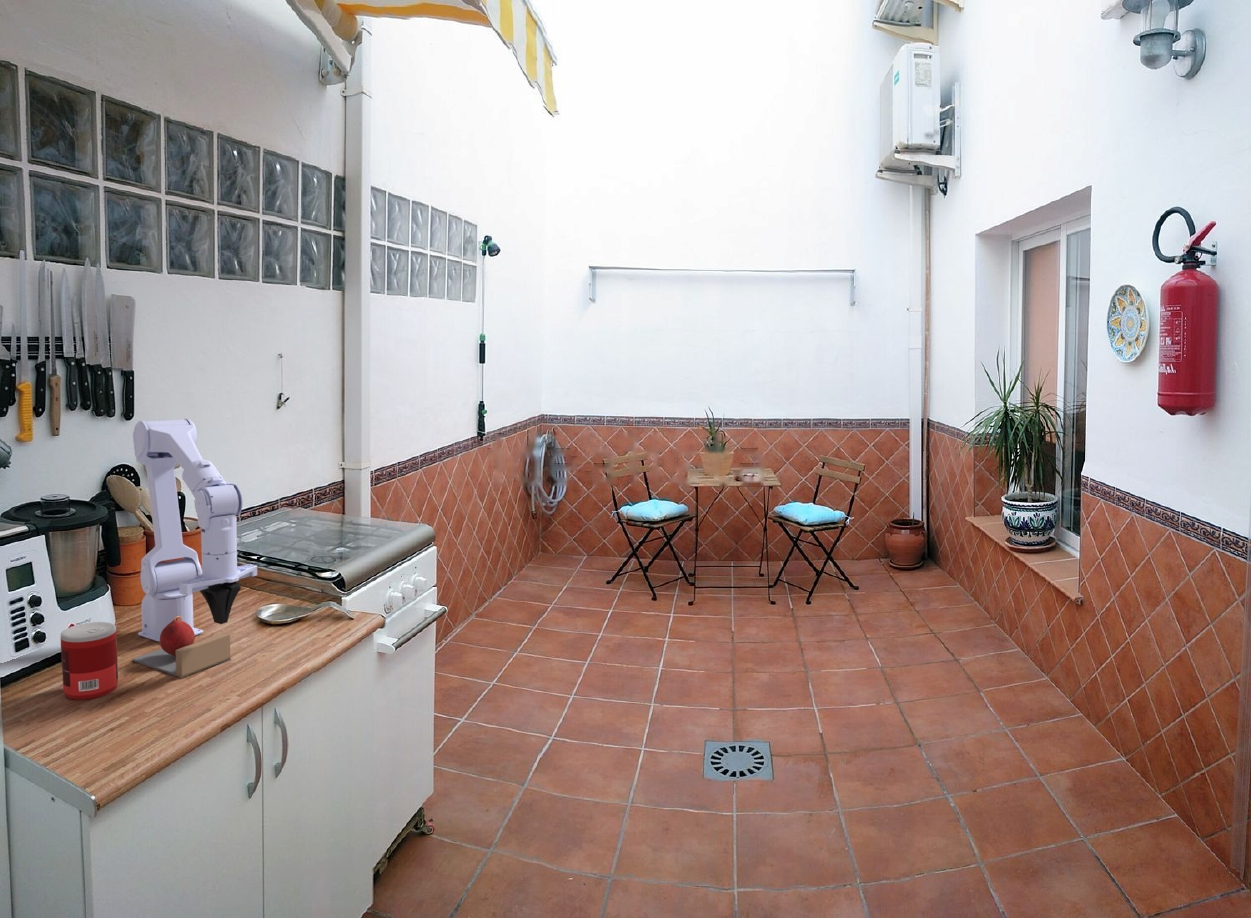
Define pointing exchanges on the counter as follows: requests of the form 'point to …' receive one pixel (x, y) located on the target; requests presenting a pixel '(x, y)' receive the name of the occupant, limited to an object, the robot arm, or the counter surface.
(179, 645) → the onion
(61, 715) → the counter surface
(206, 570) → the robot arm
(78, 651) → the canned food
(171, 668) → the l-shaped bracket
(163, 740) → the counter surface
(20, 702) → the counter surface
